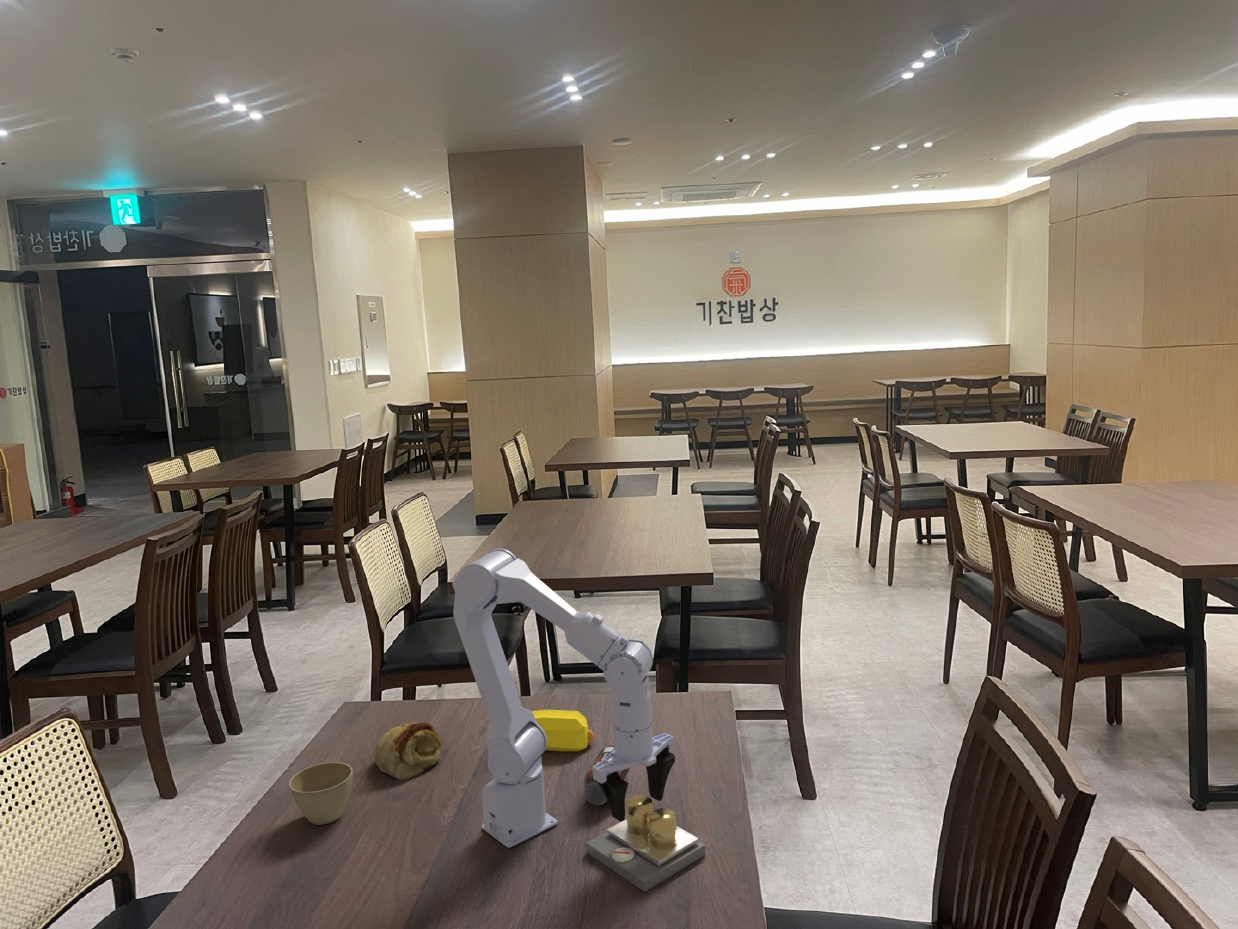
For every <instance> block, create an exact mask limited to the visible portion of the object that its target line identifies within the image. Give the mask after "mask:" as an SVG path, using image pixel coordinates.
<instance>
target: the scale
mask: <svg viewBox="0 0 1238 929" xmlns="http://www.w3.org/2000/svg"><path fill="white" fill-rule="evenodd" d="M585 846H586V853H587V854H588V855H590V856H591V857H592V858H594V859H596V860H597V861H598V860H599V861H598V862H600V863H601V864H603V865H604V866H606V865H607V866H608V867H607V866H606V867H607V868H609V869H610V868H611V869H610V870H612V871H613V872H615V871H616V872H617V873H618V874H617V873H616V872H615V873H616V874H617V875H619V876H620V877H622V878H623V877H624V878H623V879H625V880H626V879H627V880H626V881H627V882H629V883H631V884H632V883H633V884H634V885H633V884H632V885H633V886H634V887H637V888H638V889H639V888H640V889H639V890H641V889H642V890H643V892H644V893H645V891H646V892H647V891H649V890H651V889H652V888H654V887H655V886H657V885H659V884H660V883H662V882H664V881H666V880H667V879H668V878H670V877H672V876H673V875H674V874H676V873H678V872H679V871H681V870H683V869H685V868H686V867H688V866H689V865H691V864H693V863H695V862H696V861H698V860H699V859H702V858H703V857H704V856H706V844H705V843H702V842H701V841H699V842H698V843H696V844H695V845H693V846H691V847H690V848H688V849H686V850H685V851H683V852H681V853H679V854H678V855H676V856H674V857H673V858H671V859H669V860H668V861H666V862H664V863H663V864H661V865H659V866H658V865H656V864H655V863H653V862H652V861H650V860H648V859H647V858H645V857H644V856H642V855H641V854H639V853H637V852H636V851H634V850H633V849H631V848H630V847H628V846H627V845H625V844H623V843H622V842H620V841H619V840H617V839H616V838H614V837H612V836H611V835H609V834H608V833H607V831H605V832H603V833H601V834H599V835H597V836H595V837H594V838H592V839H590V840H588V841H586V842H585ZM648 889H649V890H648ZM642 890H641V891H642Z"/></svg>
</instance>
